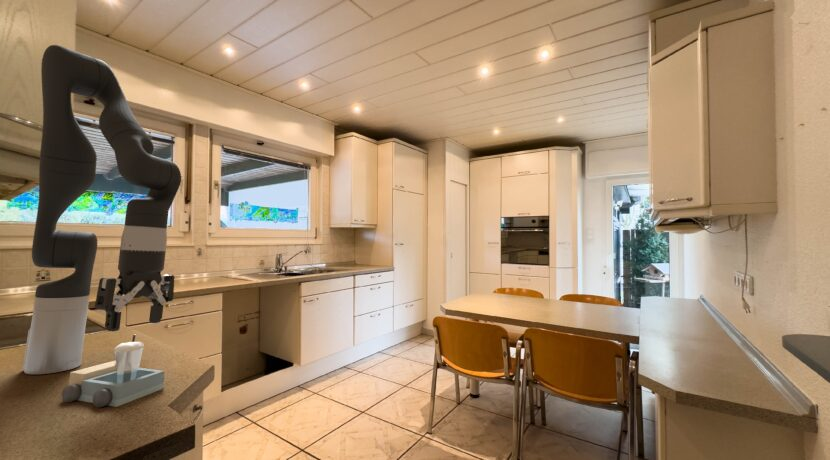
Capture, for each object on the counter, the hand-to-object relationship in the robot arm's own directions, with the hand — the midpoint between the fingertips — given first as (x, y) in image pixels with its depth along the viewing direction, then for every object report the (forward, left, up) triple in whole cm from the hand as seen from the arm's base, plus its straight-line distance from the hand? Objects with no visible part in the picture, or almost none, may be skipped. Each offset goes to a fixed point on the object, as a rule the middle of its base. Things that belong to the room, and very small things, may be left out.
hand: (135, 326), depth 69 cm
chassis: (-2, -1, -13) cm, 13 cm away
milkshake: (0, 0, -12) cm, 12 cm away
